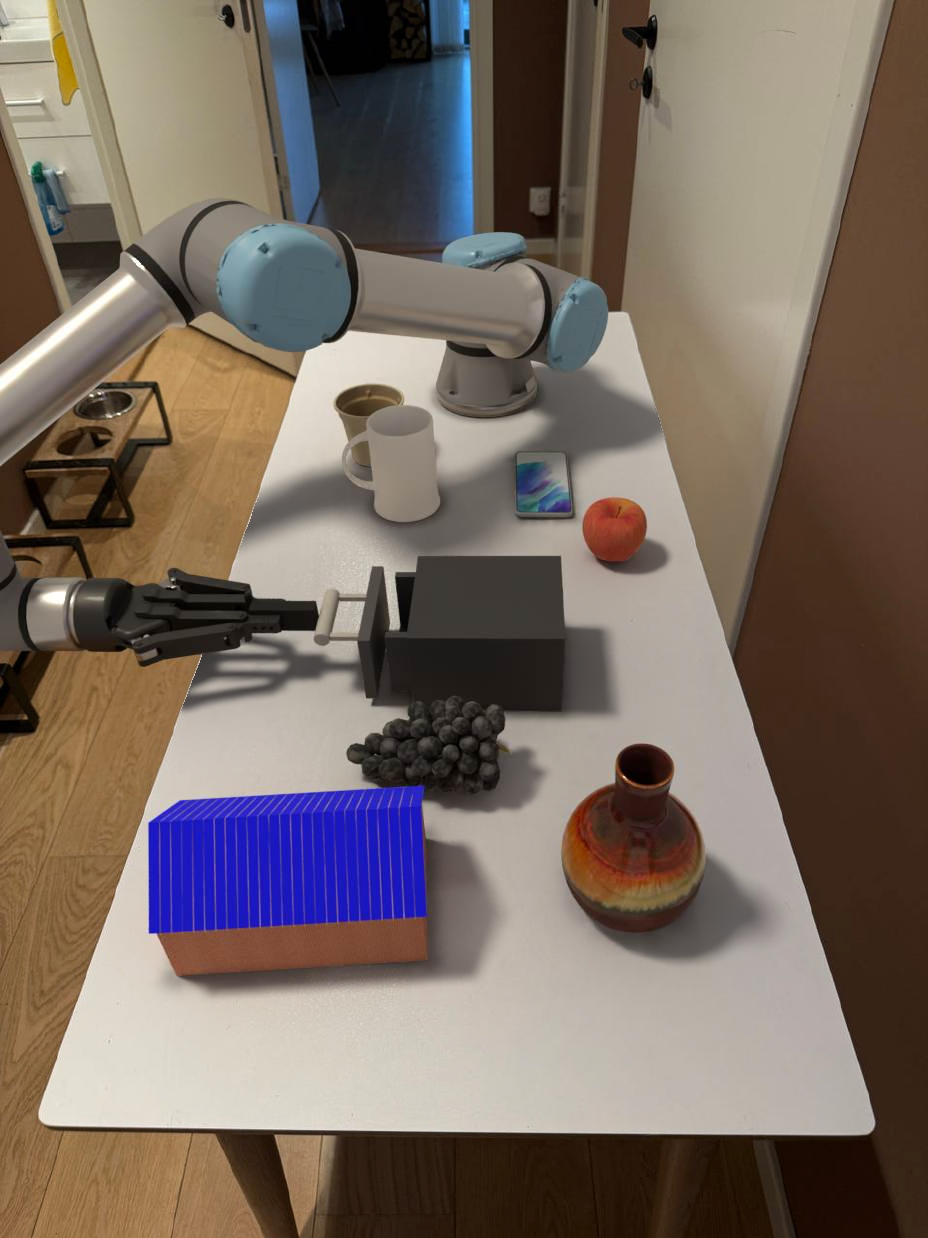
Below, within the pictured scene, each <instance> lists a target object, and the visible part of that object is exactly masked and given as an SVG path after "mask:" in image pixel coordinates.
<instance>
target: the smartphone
mask: <svg viewBox="0 0 928 1238" xmlns="http://www.w3.org/2000/svg"><path fill="white" fill-rule="evenodd" d="M513 457H514V458H513V459H514V463H513V464H514V466H513V467H514V487H513V488H514V490H513V491H514V513H515V515H516V516H517V517H519V518H570V517H572V516H573V512H574V510H573V501H572V491H571V481H570V479H571V478H570V469H569V460H568V454H567V452H565V451H561V450H560V451H555V450H553V451H552V450H551V451H547V450H545V451H543V450H542V451H541V450H519V451H516V452H515V453H514V456H513Z"/></svg>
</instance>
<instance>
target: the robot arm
mask: <svg viewBox="0 0 928 1238" xmlns="http://www.w3.org/2000/svg"><path fill="white" fill-rule="evenodd" d="M527 251H528V246H527V243H526V238H525V237H524V236H522V235H521V234H519V233H514V232H508V231H507V232H504V231H498V232H497V231H495V232H485V233H478V234H471V235H468V236H464V237H461V238H458V239H456V240H454V241H452V242H450V243H448V245H447V246H446V247H445V249H444V250H443V252H442V256H441V257H442V259H441V260H442V261H441V262H438V261H431V260H426V259H420V258H413V257H409V256H403V255H397V254H396V255H395V254H390V253H384V252H378V251H373V250H367V249H361V248H355V245H354V244H353V243H352V240H351V239H350V238H349V237H348V235H346V234H345V233H344V232H342V231H340V230H338V229H335V228H328V227H324V226H319V225H318V226H317V225H312V224H308V223H303V222H297V221H291V220H287V219H283V218H279V217H276V216H274V215H271V214H269V213H267V212H264V211H262V210H260V209H258V208H257V207H254V206H252V205H250V204H248V203H245V202H243V201H241V200H238V199H235V198H234V199H232V198H227V197H215V198H208V199H203V200H200V201H198V202H194V203H191V204H190V205H188V206H185V207H183V208H182V209H181V208H180V210H178V211H177V212H174V213H173V214H172V215H170V216H168V217H166V218H165V219H164V220H162V221H161V222H158V224H156V225H155V226H153V227H152V228H150V229H149V230H148V231H147V232H145V233H144V234H143V235H141V236H140V237H139V238H138V239H136V240H135V241H134V242H133V243H132V244H130V245H129V246H128V247H127V248H125V249H124V250H123V251H122V252H121V253H120V257H119V268H118V269H116V270H115V271H114V272H113V273H112V274H110V275H109V276H108V277H107V278H106V279H104V280H103V281H101V283H99V284H98V285H97V286H95V288H93V289H92V290H91V291H89V292H88V293H87V294H86V295H84V297H82V298H81V299H80V300H78V301H77V302H76V303H74V304H73V305H72V306H71V307H70V308H69V309H67V310H66V311H65V312H64V313H62V314H61V315H60V316H58V317H57V318H56V319H55V320H54V321H52V322H51V323H50V324H49V325H48V326H46V327H45V328H44V329H42V330H41V331H40V332H39V333H38V334H36V335H35V336H34V337H33V338H32V339H30V340H28V342H26V343H25V344H24V345H23V346H21V347H20V348H19V349H18V350H17V351H15V352H14V353H12V354H11V355H10V356H9V357H7V359H6V360H4V361H3V362H1V363H0V467H1V466H3V464H5V463H6V462H7V461H8V460H9V459H11V458H12V457H14V455H16V454H17V453H18V452H19V451H20V450H21V449H23V448H24V447H25V446H27V445H28V444H29V443H30V442H31V441H32V440H34V439H35V438H37V437H38V436H39V435H40V434H41V433H42V432H44V431H45V430H46V429H47V428H48V427H50V426H51V425H52V424H54V423H55V422H56V421H57V420H58V419H59V418H61V417H62V416H63V415H65V413H68V411H69V410H70V409H71V408H73V407H74V406H75V405H76V404H78V403H79V402H81V400H82V399H84V398H85V397H86V396H87V395H88V394H90V393H91V392H92V391H93V390H95V389H96V388H97V387H99V386H100V385H101V384H102V383H103V382H104V381H106V380H107V379H108V378H110V376H111V375H113V374H114V373H115V372H117V371H118V370H119V369H120V368H122V366H124V365H126V363H128V362H129V361H130V360H131V359H133V358H134V357H135V356H136V355H137V354H139V353H140V352H141V351H142V350H143V349H144V348H146V347H148V345H149V344H151V343H152V342H153V341H155V340H156V339H157V338H158V337H160V336H161V335H162V334H163V333H164V332H165V331H166V330H168V329H169V328H177V329H185V328H186V327H187V326H188V325H190V324H191V323H192V322H193V321H194V320H196V319H197V318H198V317H200V316H202V315H204V314H205V315H206V314H208V313H213V314H214V315H216V316H218V317H219V318H220V319H222V320H224V321H225V322H227V323H229V324H230V325H231V326H233V327H234V328H235V329H236V330H237V331H238V332H239V333H241V334H242V335H243V336H245V337H246V338H248V339H249V340H251V341H252V342H254V343H258V344H260V345H262V346H263V347H265V348H269V349H273V350H276V351H278V352H279V351H280V352H285V353H301V352H306V351H309V350H313V349H316V348H318V347H319V346H322V345H323V344H334V343H336V342H339V340H341V339H342V338H344V336H345V335H346V334H347V333H348V332H356V333H365V334H377V335H379V334H380V335H386V336H397V337H398V336H399V337H407V338H419V339H429V340H439V341H445V351H444V354H443V356H442V361H441V365H440V368H439V371H438V376H437V379H436V383H435V387H436V389H435V390H436V398H437V401H438V403H439V404H440V405H441V406H442V407H444V408H445V409H446V410H448V411H449V412H453V413H455V414H458V415H462V416H466V417H474V418H495V417H502V416H507V415H511V414H514V413H518V412H520V411H522V410H524V409H525V408H527V407H529V406H530V405H531V404H532V403H533V402H534V401H535V399H536V397H537V395H538V391H537V390H538V379H537V376H536V373H535V370H534V366H533V364H532V362H537V363H540V364H543V365H544V366H547V367H548V368H549V369H550V370H552V371H555V372H557V371H558V372H560V373H565V374H568V373H569V374H570V373H573V372H576V371H578V370H580V369H582V368H583V367H584V366H585V365H586V364H588V362H589V361H590V359H591V358H592V357H593V356H594V355H595V354H596V353H597V351H598V349H599V347H600V346H601V343H602V341H603V339H604V336H605V334H606V333H605V332H606V329H607V326H608V321H609V305H608V299H607V295H606V293H605V291H604V290H603V289H602V288H601V286H600V285H598V284H597V283H594V282H593V281H591V280H590V279H589V278H587V277H584V276H583V277H582V276H578V275H576V274H574V273H571V272H568V271H566V270H563V269H560V268H557V267H554V266H553V265H550V264H547V263H544V262H541V261H539V260H536V259H534V258H530V257H527ZM531 361H532V362H531ZM166 574H167V578H165V579H164V580H162V581H161V582H160V583H156V582H149V583H146V584H142V585H135V584H133V583H130V582H129V581H127V580H126V579H124V578H122V577H90V578H89V577H88V578H87V579H86V578H84V577H80V576H77V577H76V576H74V577H71V576H69V577H68V576H67V577H66V576H65V577H25V576H22V575H21V574H20V571H19V569H18V567H17V563H16V561H15V559H14V558H13V556H12V554H11V552H10V549H9V548H8V545H7V543H6V540H5V538H4V535H3V532H2V531H1V529H0V652H84V651H87V652H90V653H122V652H124V651H126V650H127V649H129V650H133V653H134V656H135V659H136V661H137V664H138V666H139V667H141V668H146V667H149V666H151V665H154V664H157V663H159V662H162V661H167V660H171V659H172V660H173V659H178V658H185V657H192V656H198V655H204V654H212V653H218V652H224V651H225V652H226V651H232V650H236V649H239V648H240V647H241V644H242V643H241V641H242V640H243V639H244V643H245V644H246V643H250V642H251V641H253V639H254V636H253V634H279V633H282V632H315V630H316V626H317V622H318V618H319V614H320V613H319V609H318V603H317V600H287V599H284V598H270V597H267V598H261V597H260V598H259V597H255V596H254V595H253V590H252V586H251V584H250V583H246V582H241V581H235V580H228V579H222V578H217V577H209V576H205V575H199V574H192V573H188V572H186V571H183V570H181V569H180V568H178V567H171V568H169V569H167V571H166Z"/></svg>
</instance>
